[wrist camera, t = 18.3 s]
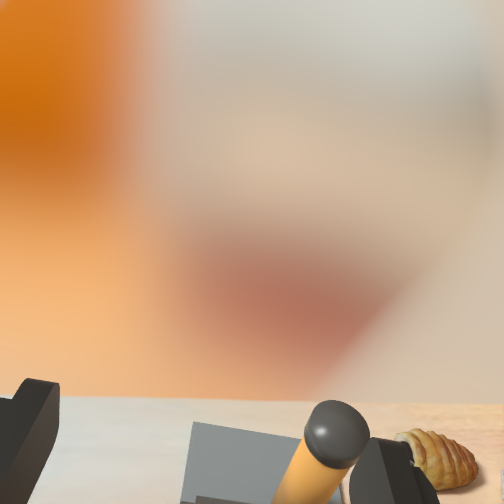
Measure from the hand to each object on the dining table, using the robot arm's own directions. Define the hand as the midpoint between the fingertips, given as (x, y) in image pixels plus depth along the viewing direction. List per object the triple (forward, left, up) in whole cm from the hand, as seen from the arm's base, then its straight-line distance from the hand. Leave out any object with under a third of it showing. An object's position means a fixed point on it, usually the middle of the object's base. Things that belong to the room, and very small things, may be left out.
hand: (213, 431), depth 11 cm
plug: (+12, +18, -31) cm, 38 cm away
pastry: (+29, +26, -33) cm, 51 cm away
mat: (+9, +22, -32) cm, 40 cm away
